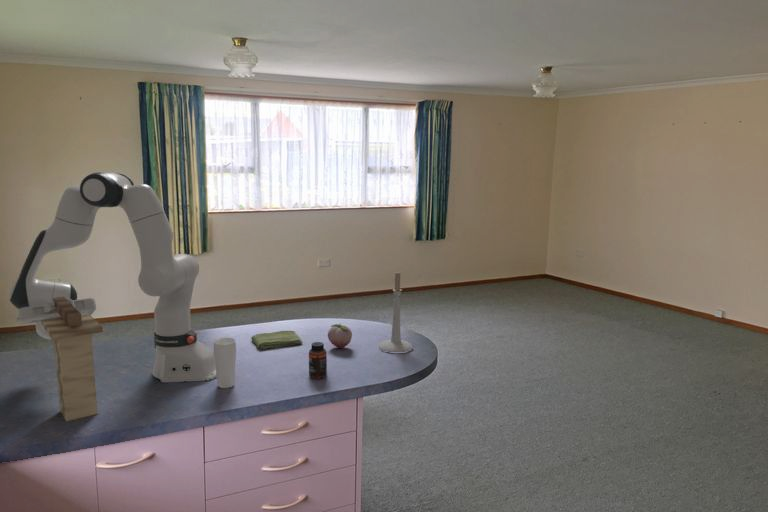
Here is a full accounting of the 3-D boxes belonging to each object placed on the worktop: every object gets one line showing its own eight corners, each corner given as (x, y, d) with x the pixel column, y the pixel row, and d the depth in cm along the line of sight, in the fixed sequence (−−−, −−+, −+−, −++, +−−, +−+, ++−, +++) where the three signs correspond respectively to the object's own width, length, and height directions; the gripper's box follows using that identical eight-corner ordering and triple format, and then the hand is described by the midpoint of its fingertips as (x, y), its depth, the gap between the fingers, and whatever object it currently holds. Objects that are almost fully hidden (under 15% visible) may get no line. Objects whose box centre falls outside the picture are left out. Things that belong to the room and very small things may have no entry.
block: (53, 307, 172) (52, 297, 172) (64, 306, 174) (64, 296, 174) (69, 326, 156) (68, 316, 155) (82, 324, 158) (81, 314, 157)
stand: (49, 407, 169) (41, 319, 164) (94, 397, 176) (88, 312, 171) (61, 429, 157) (52, 335, 152) (109, 417, 164) (102, 326, 159)
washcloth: (304, 345, 225) (304, 337, 225) (258, 352, 218) (258, 343, 217) (293, 335, 237) (293, 327, 236) (250, 341, 229) (249, 333, 228)
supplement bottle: (329, 373, 198) (329, 342, 196) (322, 380, 192) (322, 347, 190) (313, 371, 200) (313, 339, 197) (305, 377, 194) (305, 345, 192)
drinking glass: (217, 381, 190) (215, 337, 187) (238, 381, 190) (237, 337, 187) (212, 390, 183) (211, 344, 180) (235, 390, 184) (233, 344, 181)
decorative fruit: (356, 347, 223) (357, 322, 221) (343, 353, 216) (344, 327, 215) (336, 342, 228) (337, 317, 226) (323, 348, 221) (323, 323, 219)
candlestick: (389, 355, 215) (391, 276, 210) (373, 345, 226) (374, 269, 220) (418, 350, 222) (421, 273, 216) (401, 340, 233) (403, 266, 227)
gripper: (14, 312, 175) (17, 298, 164) (88, 301, 188) (96, 288, 177) (17, 332, 174) (21, 320, 163) (92, 320, 186) (100, 307, 176)
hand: (61, 303), depth 170 cm, fingers closed on block, 3 cm apart
